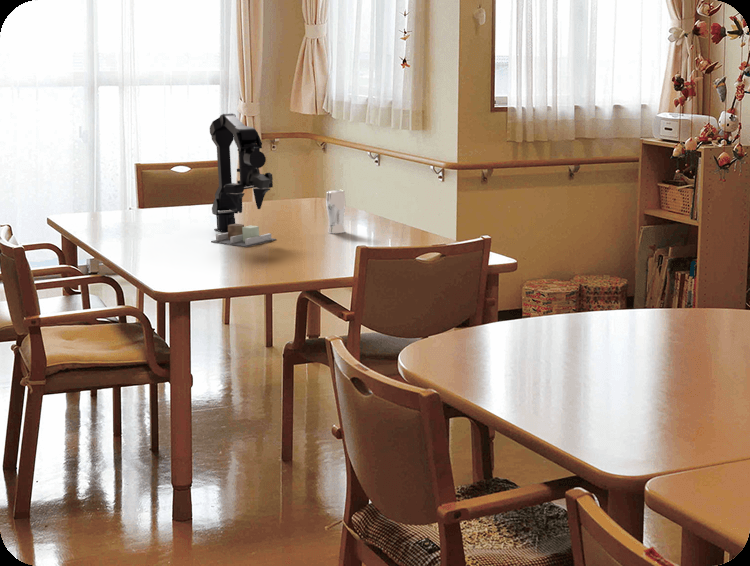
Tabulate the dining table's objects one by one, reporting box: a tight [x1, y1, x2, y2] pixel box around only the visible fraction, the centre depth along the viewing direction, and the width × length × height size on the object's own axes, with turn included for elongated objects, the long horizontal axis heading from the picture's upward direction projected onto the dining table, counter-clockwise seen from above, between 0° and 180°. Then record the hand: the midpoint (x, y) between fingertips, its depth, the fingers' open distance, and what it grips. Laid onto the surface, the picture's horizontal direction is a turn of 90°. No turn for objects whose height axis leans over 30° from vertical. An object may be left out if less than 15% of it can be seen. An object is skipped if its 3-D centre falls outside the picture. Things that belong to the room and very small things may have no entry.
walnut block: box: [228, 223, 245, 239], centre depth 333 cm, size 4×4×5 cm
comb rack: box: [210, 232, 277, 248], centre depth 332 cm, size 17×15×2 cm
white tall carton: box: [325, 189, 346, 235], centre depth 344 cm, size 7×7×15 cm
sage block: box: [242, 225, 260, 242], centre depth 329 cm, size 4×4×5 cm
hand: (249, 210), depth 327 cm, fingers open, 9 cm apart
